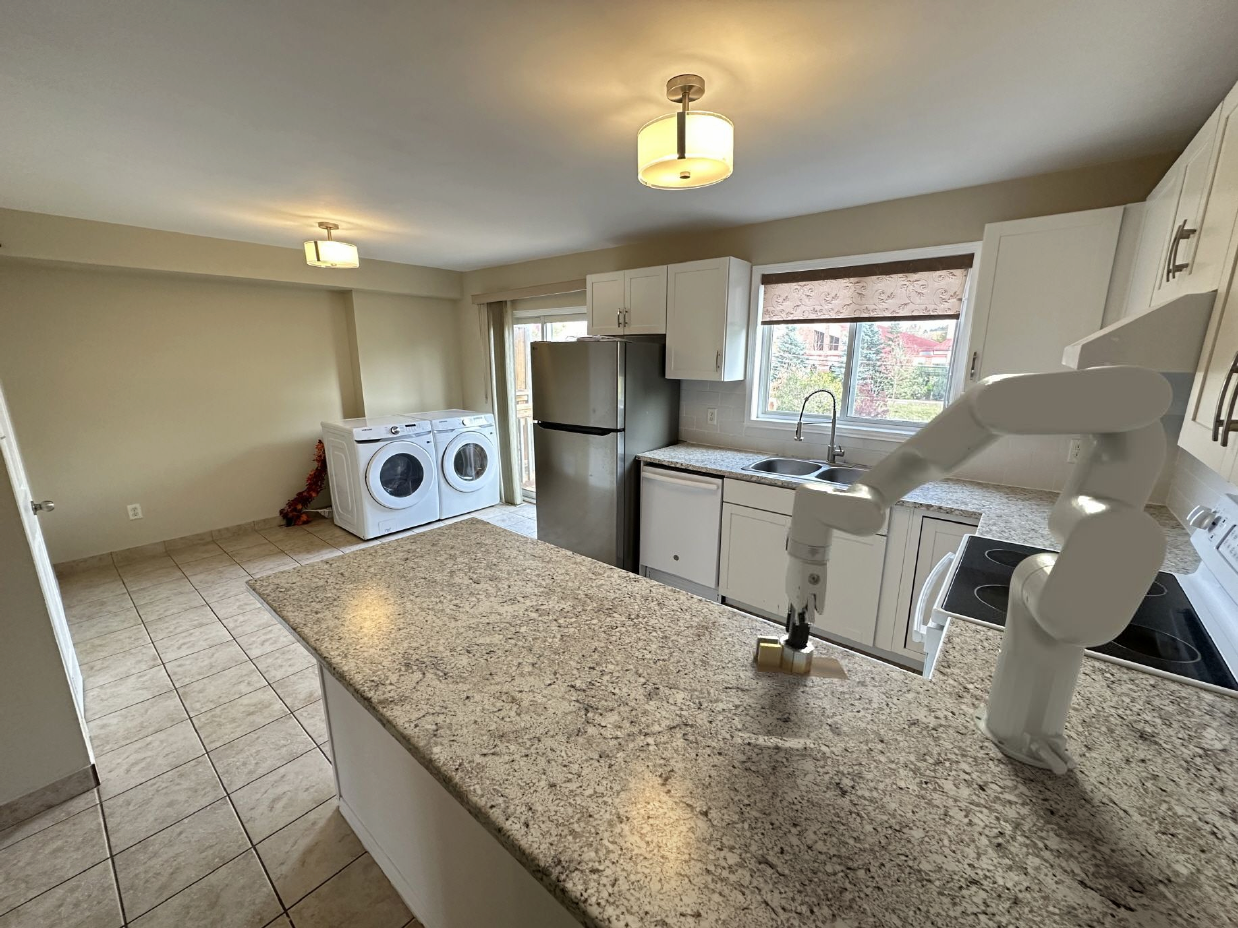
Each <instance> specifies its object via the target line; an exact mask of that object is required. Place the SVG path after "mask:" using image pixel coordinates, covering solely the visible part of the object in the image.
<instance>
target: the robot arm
mask: <svg viewBox="0 0 1238 928" xmlns="http://www.w3.org/2000/svg"><path fill="white" fill-rule="evenodd" d="M1173 397H1174V395H1173V389H1172V386H1171V384H1170V382H1169V381H1168V379H1167V378H1166V377H1165V376H1163V375H1162V374H1161V373H1160V372H1158V371H1156V370H1154V369H1152V368H1149V367H1145V366H1143V365H1141V366H1140V365H1136V364H1135V365H1133V364H1130V365H1129V364H1124V365H1123V364H1122V365H1101V366H1092V367H1088V368H1084V369H1073V370H1061V371H1050V372H1036V373H1034V372H1033V373H1032V372H1031V373H1005V374H996V375H995V374H994V375H990V376H988V377H987V376H986V377H984V378H983V379H981V380H979V381H977V382H976V383H975V384H973V385H972V386H971V387H969V388H968V389H967V390H966V391H965V392H963V393H961V395H959V397H957V398H956V399H955V400H953V402H952V403H950V404H949V405H947V407H945V408H944V409H943V410H942V411H941V412H939V413H938V414H937V415H936V416H935V417H933V418H932V419H931V420H930V421H929V422H928V423H926V424H925V425H924V426H922V427H921V428H920V429H919V430H918V431H917V432H915V433H914V434H913V435H912V436H910V437H909V438H908V439H906V440H905V441H904V442H903V443H901V444H900V445H899V446H897V448H896V449H894V450H893V451H892V452H890V454H888V455H887V456H885V457H884V458H883V459H881V460H880V461H879V462H877V463H876V464H875V465H874V466H873V467H871V468H870V469H869V470H868V471H866V472H865V473H864V474H863V475H862V476H860V477H859V478H858V479H857V480H855V482H853V483H852V484H850V486H849V487H848V488H847V489H846V490H845V491H844V492H839V491H838V489H837V488H836V487H834V486H832V485H829V484H827V483H822V482H812V481H809V482H807V481H806V482H802V483H799V484H798V485H797V486H796V487H795V490H794V491H795V492H794V498H793V504H792V505H793V506H792V512H791V522H790V528H789V534H788V543H787V548H786V549H787V550H786V554H787V556H789V559H788V564H787V568H786V573H785V574H786V575H785V583H784V585H785V586H784V590H785V594H786V596H787V598H788V605H787V615H786V622H785V629H784V630H785V632H786V634H789V627H790V620H791V613H792V606H794V608H795V609H796V613H795V622H792V629H791V636H790V641H791V643H798V644H807V643H808V641H809V637H810V633H811V632H810V630H811V626H812V624H813V625H814V624H815V621H816V620H815V619H816V618H815V617H816V616H815V615H816V613H817V614H818V615H820V616H821V615H824V613H825V607H826V597H827V590H828V589H827V588H828V586H827V585H828V564H827V563H829V562H830V559H831V553H832V546H833V541H834V540H833V539H834V533H835V530H836V531H839V532H842V533H843V534H848V535H850V536H855V537H858V538H859V537H860V538H868V537H872V536H874V535H875V536H876V534H879V533H880V532H881V530H883V528H884V527H885V524H886V520H887V511H888V510H889V509H890V508H891V507H892V506H894V505H895V504H896V503H897V502H899V501H900V500H902V499H903V498H904V497H906V496H907V495H909V494H910V493H912V492H913V491H915V490H916V489H918V488H920V487H923V486H924V485H927V484H930V483H932V482H937V481H941V480H945V479H947V478H949V477H951V476H953V475H954V474H956V473H957V472H959V471H960V470H961V469H962V468H964V467H965V466H967V465H968V464H969V463H970V462H971V461H973V460H974V459H976V458H977V457H978V456H979V455H981V454H982V453H983V452H985V451H986V450H987V449H989V448H990V447H992V445H995V444H996V443H997V442H999V441H1000V440H1001V439H1002V438H1003V437H1005V436H1061V435H1079V441H1080V444H1079V445H1080V446H1079V450H1078V454H1077V457H1076V459H1075V462H1074V464H1073V468H1072V469H1071V472H1070V474H1069V476H1068V478H1067V480H1066V481H1065V484H1064V485H1063V488H1062V490H1061V492H1060V494H1059V496H1058V498H1057V500H1056V502H1055V504H1054V506H1053V507H1052V509H1051V511H1050V512H1049V515H1048V518H1047V528H1048V532H1049V533H1050V535H1051V537H1052V538H1053V540H1054V541H1056V543H1057V544H1058V545H1059V546H1061V549H1060V551H1059V553H1055V552H1041V553H1037V554H1033V555H1030V556H1028V557H1026V558H1025V559H1024V558H1023V560H1022V561H1020V562H1019V563H1018V564H1017V566H1016V567H1015V569H1014V570H1013V573H1012V576H1011V579H1010V584H1009V592H1008V602H1007V603H1008V605H1007V612H1006V613H1007V614H1006V620H1005V625H1004V629H1003V634H1002V639H1001V641H1000V646H999V651H998V655H997V659H996V663H995V668H994V672H993V677H992V681H991V685H990V690H989V695H988V698H987V704H986V706H983V707H981V706H980V707H979V708H976V709H975V710H974V711H973V713H972V715H971V721H972V722H973V724H974V725H975V727H976V728H977V730H978V731H979V732H980V733H982V734H983V736H984V737H985V738H986V739H988V741H989V742H990V743H992V744H993V745H994V747H995V748H996V749H997V750H998V751H999V752H1000V753H1003V754H1004V755H1006V756H1008V757H1010V758H1012V759H1014V760H1016V761H1018V762H1021V763H1024V764H1026V765H1029V766H1033V767H1037V768H1040V769H1045V770H1051V771H1052V772H1053V774H1056V775H1059V776H1061V775H1064V774H1066V773H1067V772H1068V769H1074V768H1076V767H1077V765H1078V763H1077V761H1076V760H1074V758H1072V755H1073V754H1072V750H1071V749H1070V747H1069V746H1068V744H1067V743H1068V738H1067V737H1065V735H1063V734H1064V732H1065V731H1064V730H1065V726H1066V723H1067V719H1068V715H1069V711H1070V708H1071V704H1072V701H1073V697H1074V694H1075V693H1074V692H1075V690H1076V685H1077V682H1078V678H1079V674H1080V672H1081V668H1082V664H1083V661H1084V656H1085V652H1086V648H1093V647H1098V646H1102V645H1105V644H1107V643H1109V642H1111V641H1113V640H1115V639H1116V638H1117V637H1118V636H1120V635H1121V634H1122V632H1123V631H1125V629H1126V628H1127V626H1128V625H1129V624H1130V622H1131V621H1132V619H1133V617H1134V616H1135V614H1136V612H1137V611H1138V609H1139V607H1140V605H1141V604H1142V602H1143V600H1144V598H1145V596H1146V595H1147V593H1148V592H1149V590H1150V588H1151V586H1152V584H1153V583H1154V581H1155V579H1156V577H1157V576H1158V574H1159V572H1160V570H1161V569H1162V566H1163V564H1164V563H1165V559H1166V555H1167V548H1168V547H1167V546H1168V544H1167V536H1166V533H1165V531H1164V529H1163V528H1162V526H1161V524H1160V523H1159V522H1158V521H1157V520H1156V519H1155V518H1154V517H1153V516H1151V515H1150V514H1149V513H1147V512H1146V511H1144V509H1145V507H1146V504H1147V502H1148V500H1149V499H1150V496H1151V494H1152V493H1153V490H1154V487H1155V485H1156V484H1157V481H1158V479H1159V477H1160V475H1161V473H1162V470H1163V468H1164V465H1165V462H1166V458H1167V457H1166V456H1167V450H1168V448H1167V447H1168V444H1167V443H1168V442H1167V437H1166V433H1165V429H1164V426H1163V423H1162V422H1161V418H1162V417H1163V416H1164V415H1165V413H1166V412H1168V410H1169V409H1170V407H1171V404H1172V401H1173ZM804 607H805V608H806V609H805V608H804ZM815 612H816V613H815ZM800 613H802V614H806V615H805V616H801V617H800Z"/></svg>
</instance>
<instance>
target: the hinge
mask: <svg viewBox="0 0 1238 928" xmlns="http://www.w3.org/2000/svg"><path fill="white" fill-rule="evenodd" d="M787 641H788V634H784V635H783V636H781V637H780V638H779V637H778V636H770V635H759V634H757V635H756V641H755V642H756V643H755V649H754V650H755V658H758V666H761V667H772V668H779V666H780V667H781V668H783V669H785V670H787V671H789V672H790V673H791V672H792V673H797V674H806V673H807V672H808V671H810V670H811V664H812V657H814V651H815V648H814V646H813V644H812V642H811V641H810V640H808V643H807V644H803V646H802V650H801V649H794V648H792V647H790V646H788V645H787Z"/></svg>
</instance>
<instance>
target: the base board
mask: <svg viewBox="0 0 1238 928" xmlns="http://www.w3.org/2000/svg"><path fill="white" fill-rule="evenodd" d="M751 653H752V656H753V659H754V662H755V665H756V668H757V671H758V672H764V673H773V674H774V673H775V674H784V675H785V674H787V675H795V676H805V677H819V678H829V679H840V680H850V678H849V676H848V674H847V673H846V670H845V669H844V668H843V667H842V665H841V663H840V661H839V660H838V658H832V657H823V656H813V657H812V664H811V670H810V671H808V672H807V673H806V674H797V673H792V672H791V673H790V672H789V671H787V670H785V669H783V668H781V667H780V666H779V668H772V667H761V666H758V658H755V651H753V650H752V651H751Z"/></svg>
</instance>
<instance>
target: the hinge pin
mask: <svg viewBox="0 0 1238 928" xmlns="http://www.w3.org/2000/svg"><path fill="white" fill-rule="evenodd" d="M804 608H805V607H804ZM805 609H806V608H805ZM795 613H796V609H795V608H794V606H792V613H791V620H790V627H789V633H787V635H788V641H787V645H788V646H790V647H792V648H794V649H801V650H802V646H803V644H798V643H791V641H790V636H791V629H792V622H795ZM805 615H806V614H802V613H800V617H801V616H805Z"/></svg>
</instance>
